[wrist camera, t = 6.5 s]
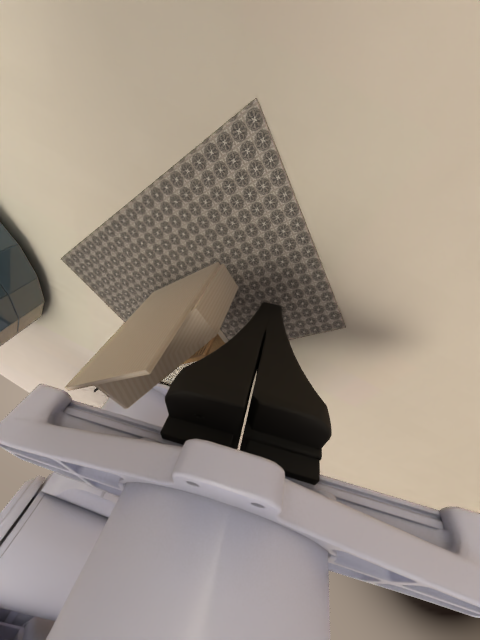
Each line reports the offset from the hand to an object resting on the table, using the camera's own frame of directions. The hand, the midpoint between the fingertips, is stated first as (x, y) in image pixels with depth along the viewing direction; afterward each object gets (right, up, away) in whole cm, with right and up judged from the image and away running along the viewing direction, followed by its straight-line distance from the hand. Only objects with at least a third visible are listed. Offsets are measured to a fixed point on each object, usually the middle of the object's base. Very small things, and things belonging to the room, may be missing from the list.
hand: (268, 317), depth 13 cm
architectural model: (-4, +2, +1) cm, 5 cm away
